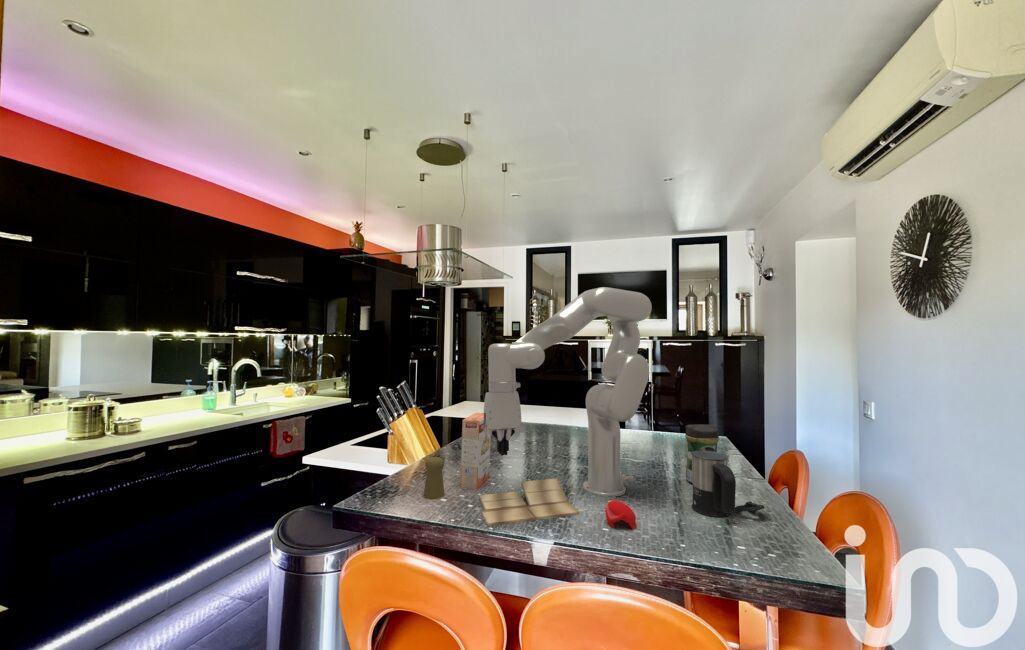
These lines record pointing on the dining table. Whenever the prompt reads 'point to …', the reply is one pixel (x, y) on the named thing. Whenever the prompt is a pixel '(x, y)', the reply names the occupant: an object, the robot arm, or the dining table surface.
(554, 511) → the laid board
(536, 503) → the plank
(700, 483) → the milk frother
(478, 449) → the cracker box
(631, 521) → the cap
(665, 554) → the dining table surface
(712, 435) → the coffee jar
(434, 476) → the cork
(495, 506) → the plank
